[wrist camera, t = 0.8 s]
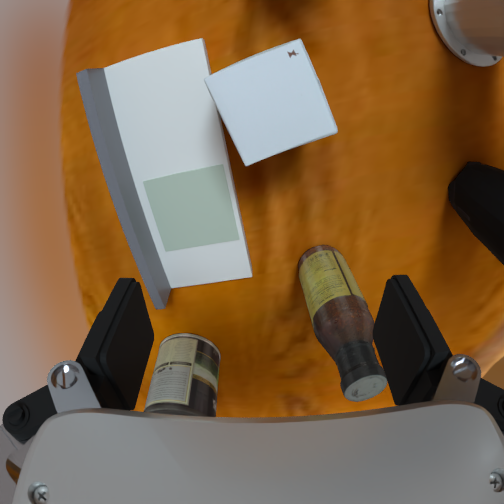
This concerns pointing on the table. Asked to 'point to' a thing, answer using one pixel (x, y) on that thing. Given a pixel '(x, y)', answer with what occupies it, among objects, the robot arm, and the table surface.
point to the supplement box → (271, 102)
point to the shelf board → (180, 163)
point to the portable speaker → (481, 204)
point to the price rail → (122, 182)
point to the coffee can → (185, 377)
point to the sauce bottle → (341, 321)
